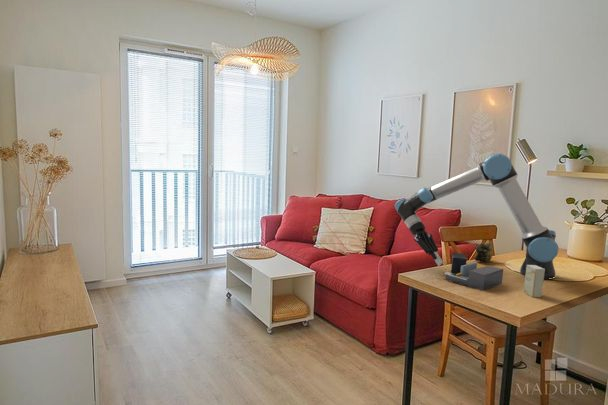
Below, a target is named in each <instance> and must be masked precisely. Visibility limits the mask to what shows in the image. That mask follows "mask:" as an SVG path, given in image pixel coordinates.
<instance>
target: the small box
mask: <svg viewBox="0 0 608 405" xmlns="http://www.w3.org/2000/svg"><path fill="white" fill-rule="evenodd" d="M466 264H467V254H464V253H459V252H458V253H457V252H452V257H451V267H450V273H454V274H458V273H460V272H461V266H462V265H466Z"/></svg>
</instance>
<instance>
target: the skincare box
mask: <svg viewBox="0 0 608 405" xmlns="http://www.w3.org/2000/svg"><path fill="white" fill-rule="evenodd" d="M544 273H545V269H543V268H541V267H539V266H537V265H527V267H526V275H524V284H523V291H522V292H523V293H524V294H526V295H528V296H529V297H531V298H542V293H543V287H544V280H545V279H544Z"/></svg>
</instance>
